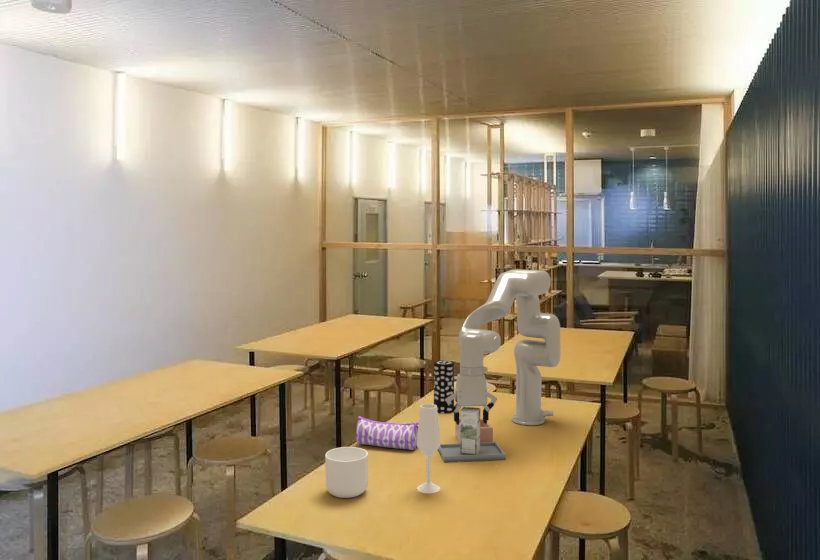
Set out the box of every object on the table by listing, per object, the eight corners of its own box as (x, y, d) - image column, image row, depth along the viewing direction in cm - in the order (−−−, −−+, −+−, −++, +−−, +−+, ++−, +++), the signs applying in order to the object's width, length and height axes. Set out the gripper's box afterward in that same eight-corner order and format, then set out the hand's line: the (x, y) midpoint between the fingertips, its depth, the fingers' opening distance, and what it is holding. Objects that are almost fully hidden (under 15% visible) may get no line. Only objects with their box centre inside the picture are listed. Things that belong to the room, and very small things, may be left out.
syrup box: (480, 450, 213) (480, 407, 212) (476, 455, 207) (477, 411, 206) (463, 448, 214) (463, 405, 213) (459, 454, 209) (459, 410, 208)
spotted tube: (452, 414, 257) (452, 365, 256) (432, 413, 259) (432, 364, 258) (455, 408, 266) (455, 360, 264) (435, 407, 267) (435, 360, 266)
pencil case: (422, 444, 221) (422, 418, 220) (416, 454, 212) (416, 426, 211) (361, 439, 226) (361, 413, 225) (352, 448, 217) (352, 421, 216)
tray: (496, 447, 218) (496, 442, 218) (505, 459, 206) (505, 454, 206) (438, 449, 216) (438, 444, 215) (444, 462, 204) (444, 456, 204)
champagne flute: (443, 491, 181) (443, 408, 179) (420, 494, 179) (420, 410, 177) (435, 482, 187) (436, 402, 185) (413, 485, 185) (413, 403, 183)
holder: (485, 434, 231) (485, 418, 231) (492, 444, 220) (492, 427, 220) (455, 435, 230) (455, 419, 229) (461, 446, 219) (461, 428, 219)
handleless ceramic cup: (340, 505, 172) (340, 464, 171) (317, 491, 181) (317, 452, 180) (376, 493, 180) (376, 454, 179) (352, 481, 189) (352, 444, 188)
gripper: (494, 367, 213) (494, 418, 215) (443, 369, 211) (443, 420, 213) (500, 372, 206) (499, 425, 207) (447, 374, 204) (447, 427, 205)
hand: (471, 422), depth 210 cm, fingers open, 8 cm apart
